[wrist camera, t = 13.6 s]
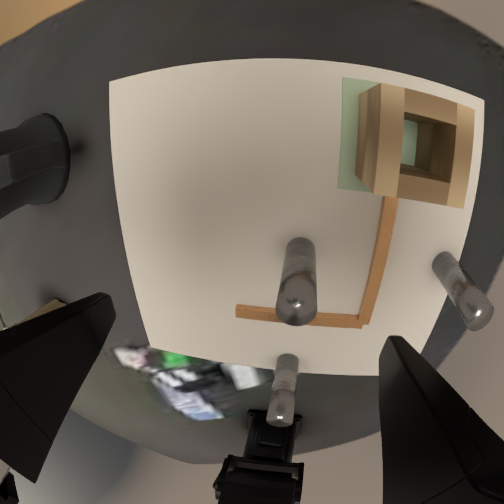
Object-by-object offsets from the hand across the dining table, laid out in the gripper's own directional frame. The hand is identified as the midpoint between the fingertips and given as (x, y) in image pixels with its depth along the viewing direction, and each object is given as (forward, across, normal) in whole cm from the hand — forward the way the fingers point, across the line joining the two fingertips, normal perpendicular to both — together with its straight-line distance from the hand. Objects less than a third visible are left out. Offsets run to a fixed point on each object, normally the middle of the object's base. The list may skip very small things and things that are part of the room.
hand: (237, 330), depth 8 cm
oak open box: (+11, -7, -6) cm, 14 cm away
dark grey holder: (+12, +21, -5) cm, 24 cm away
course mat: (+12, -1, +2) cm, 12 cm away
